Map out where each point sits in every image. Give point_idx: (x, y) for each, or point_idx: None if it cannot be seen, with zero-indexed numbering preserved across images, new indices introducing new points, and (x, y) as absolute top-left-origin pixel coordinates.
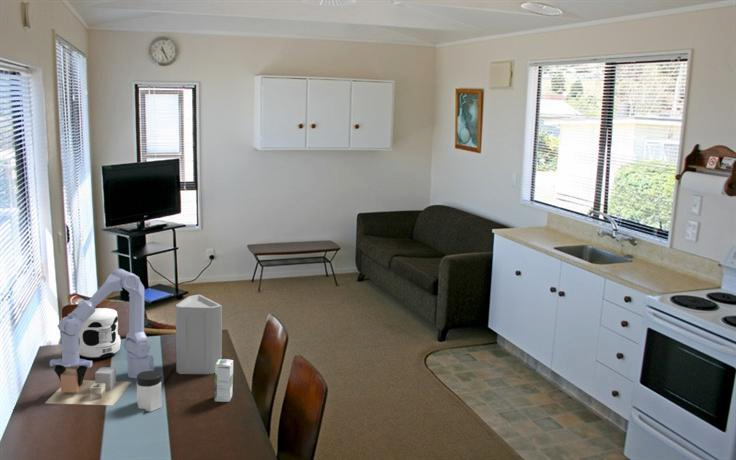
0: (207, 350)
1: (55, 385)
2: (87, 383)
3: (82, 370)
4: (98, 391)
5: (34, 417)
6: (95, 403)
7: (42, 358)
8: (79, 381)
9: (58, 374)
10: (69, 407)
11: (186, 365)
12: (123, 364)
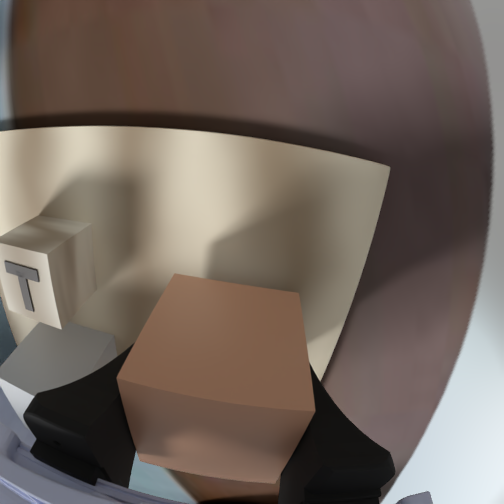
0: None
1: (348, 404)
2: None
3: (29, 406)
4: (20, 234)
5: (396, 8)
6: (44, 144)
7: (382, 498)
8: None
9: (339, 424)
10: (201, 118)
11: None
12: (142, 476)
